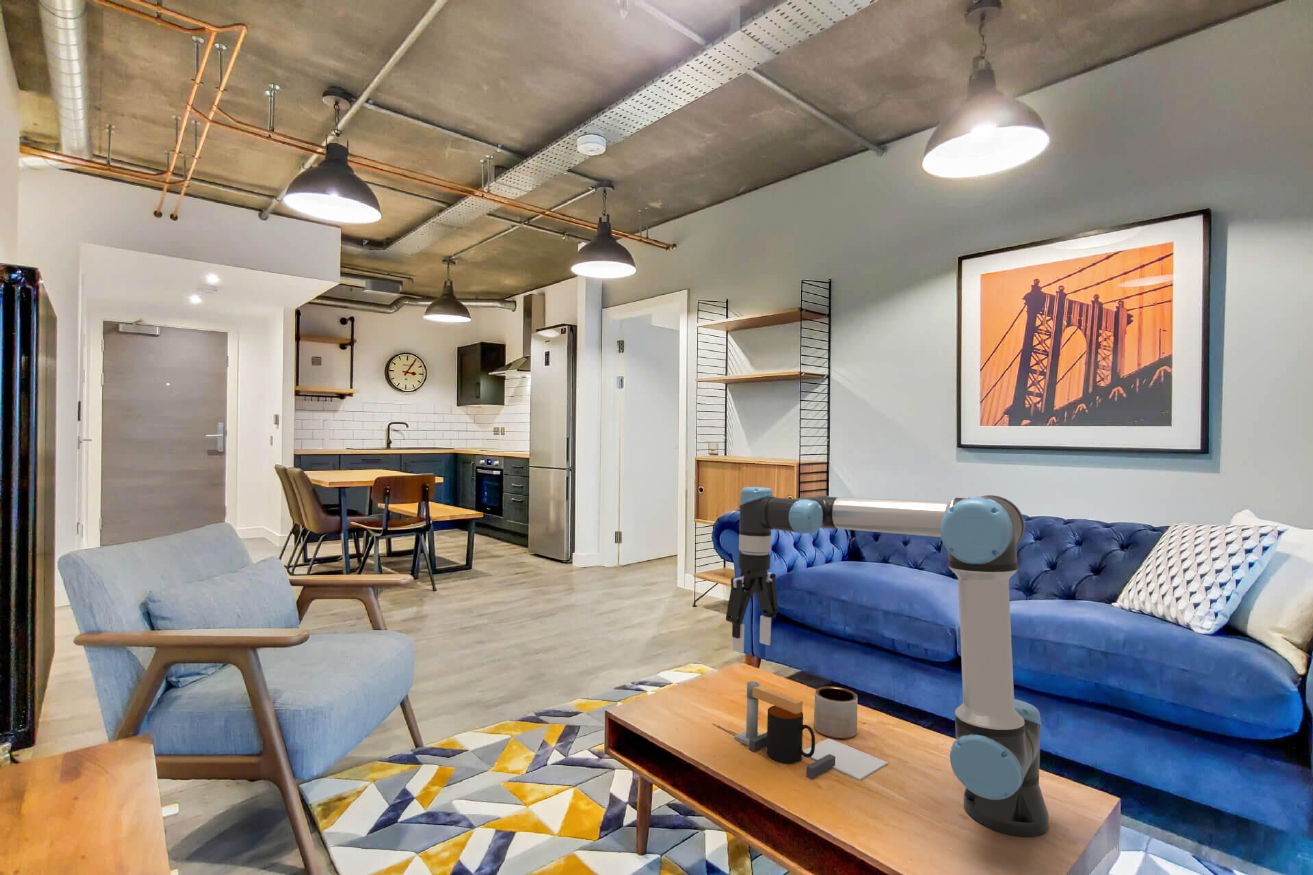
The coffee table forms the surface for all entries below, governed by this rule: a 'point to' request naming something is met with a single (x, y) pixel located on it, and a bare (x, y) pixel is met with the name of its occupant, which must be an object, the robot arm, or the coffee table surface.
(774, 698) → the wooden bar
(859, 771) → the mat
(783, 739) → the mug
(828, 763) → the dock
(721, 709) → the coffee table surface
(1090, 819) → the coffee table surface
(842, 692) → the planter
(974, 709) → the robot arm
